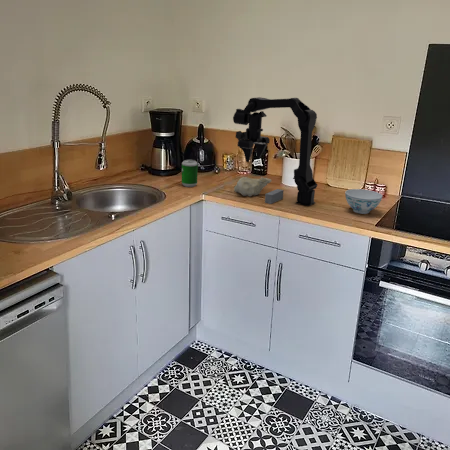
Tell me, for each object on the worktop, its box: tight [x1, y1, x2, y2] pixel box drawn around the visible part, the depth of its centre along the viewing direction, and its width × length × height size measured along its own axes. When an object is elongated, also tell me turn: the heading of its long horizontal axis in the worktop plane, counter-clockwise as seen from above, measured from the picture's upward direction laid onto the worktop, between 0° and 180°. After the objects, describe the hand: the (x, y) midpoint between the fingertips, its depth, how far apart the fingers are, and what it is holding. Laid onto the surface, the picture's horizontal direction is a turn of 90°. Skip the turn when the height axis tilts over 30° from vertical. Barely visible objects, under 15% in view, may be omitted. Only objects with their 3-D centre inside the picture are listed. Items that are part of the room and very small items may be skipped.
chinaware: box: [344, 188, 383, 215], centre depth 193 cm, size 15×15×8 cm
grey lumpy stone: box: [233, 176, 272, 197], centre depth 210 cm, size 15×7×15 cm
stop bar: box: [264, 188, 284, 205], centre depth 203 cm, size 3×11×4 cm, turn 145°
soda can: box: [181, 159, 199, 188], centre depth 220 cm, size 8×8×12 cm
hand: (252, 160), depth 212 cm, fingers open, 9 cm apart
